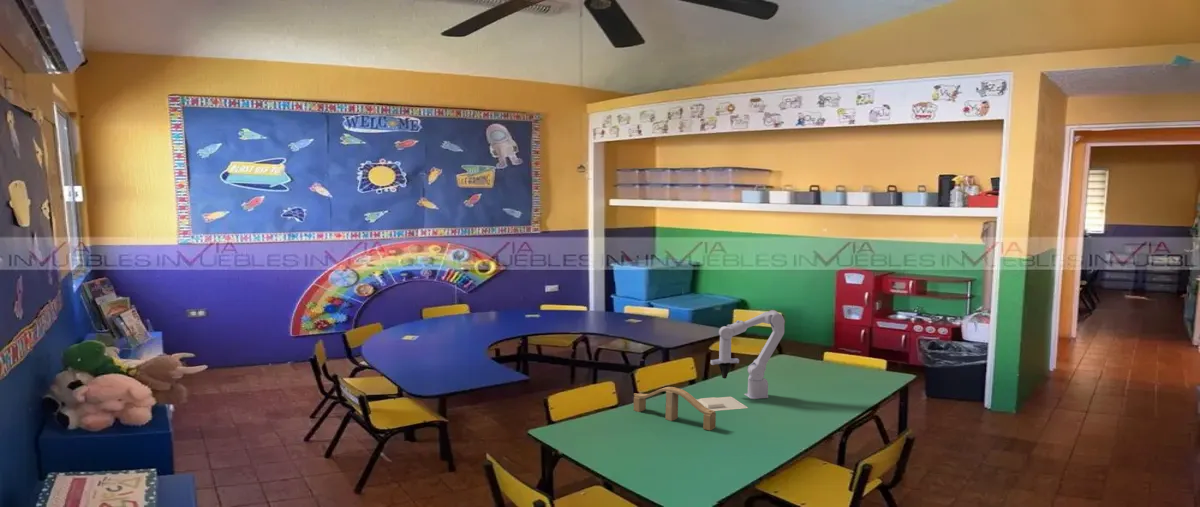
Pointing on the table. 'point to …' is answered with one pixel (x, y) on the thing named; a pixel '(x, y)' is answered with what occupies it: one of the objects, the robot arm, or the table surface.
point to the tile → (711, 402)
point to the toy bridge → (672, 405)
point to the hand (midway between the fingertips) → (724, 377)
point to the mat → (727, 404)
